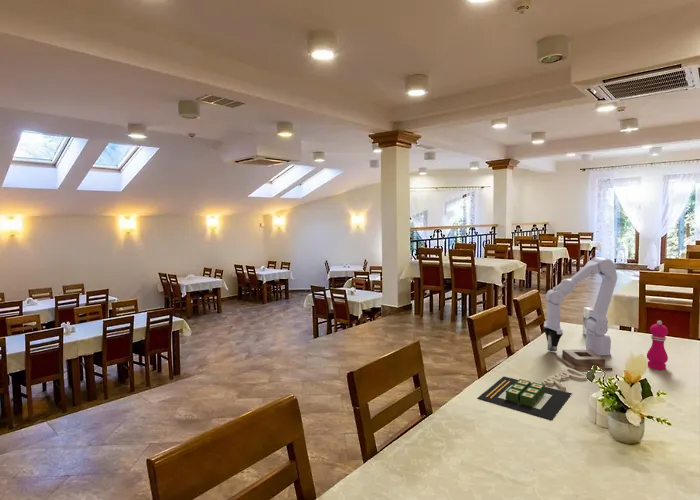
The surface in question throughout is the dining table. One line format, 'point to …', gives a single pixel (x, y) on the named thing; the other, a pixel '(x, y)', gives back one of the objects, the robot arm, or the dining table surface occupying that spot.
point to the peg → (550, 344)
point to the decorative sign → (564, 377)
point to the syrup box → (586, 313)
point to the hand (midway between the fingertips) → (552, 344)
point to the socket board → (582, 359)
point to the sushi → (525, 397)
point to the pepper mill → (657, 347)
